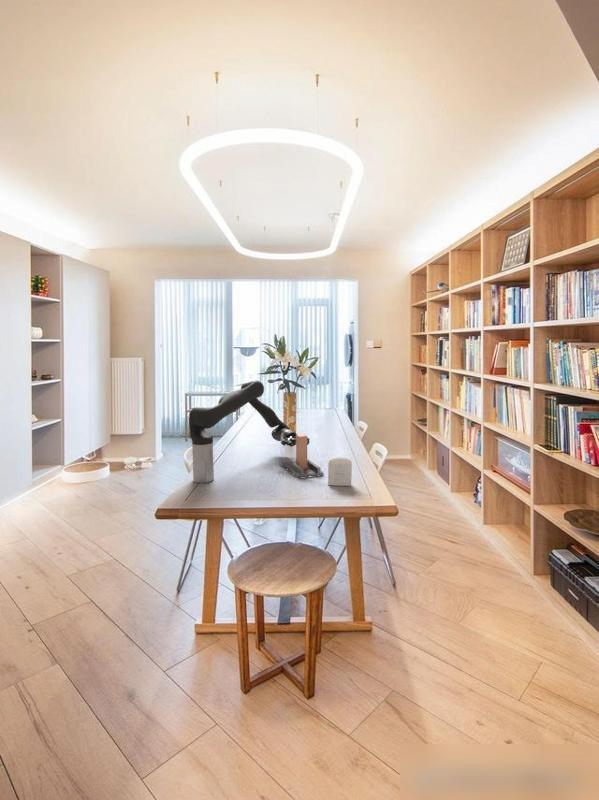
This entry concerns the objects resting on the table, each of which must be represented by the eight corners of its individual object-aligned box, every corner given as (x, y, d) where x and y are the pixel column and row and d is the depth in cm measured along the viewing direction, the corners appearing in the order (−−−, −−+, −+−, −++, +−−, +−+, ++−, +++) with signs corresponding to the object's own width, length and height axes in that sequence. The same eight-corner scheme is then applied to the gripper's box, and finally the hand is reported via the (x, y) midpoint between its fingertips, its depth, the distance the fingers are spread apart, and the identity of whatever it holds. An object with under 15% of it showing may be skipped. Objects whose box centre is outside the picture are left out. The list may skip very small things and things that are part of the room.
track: (323, 475, 196) (323, 467, 196) (297, 478, 192) (297, 470, 191) (305, 463, 219) (305, 455, 218) (281, 465, 214) (281, 457, 214)
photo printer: (351, 483, 184) (351, 456, 183) (351, 486, 180) (352, 458, 178) (328, 483, 185) (328, 455, 184) (327, 486, 181) (327, 458, 179)
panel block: (299, 468, 202) (299, 436, 200) (296, 466, 207) (296, 434, 205) (307, 468, 203) (307, 436, 202) (303, 465, 208) (303, 434, 206)
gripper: (276, 431, 219) (285, 437, 204) (301, 429, 224) (312, 435, 209) (276, 445, 220) (286, 452, 205) (302, 443, 225) (313, 450, 210)
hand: (299, 443), depth 207 cm, fingers open, 8 cm apart
